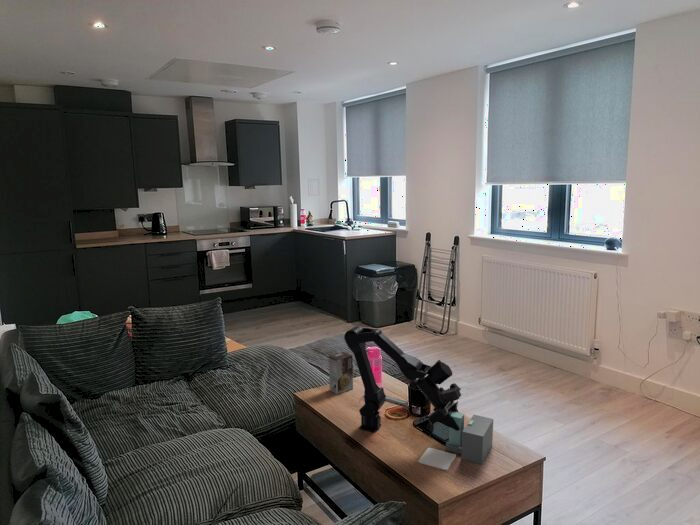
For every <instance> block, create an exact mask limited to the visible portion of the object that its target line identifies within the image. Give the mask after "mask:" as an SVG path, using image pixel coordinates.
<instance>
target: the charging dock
mask: <svg viewBox="0 0 700 525" xmlns="http://www.w3.org/2000/svg"><path fill="white" fill-rule="evenodd" d="M493 432H494V418H492V417H491V418H490V417H486V416H481V415H477V414H473V415H472V416H471V418H470V419H469V421H468V422H467V423H466V425H465V426H464V429H463V431H462V446H461V447H459V446H455V445H451V444H449V443H445V451H446V452H450V453H451V452H452V453H454V454H459V455H461V457H460V459H461V460H462V461H467V462H471V463H474V464H477V465H482V466H483V463H484V461H485V459H486V458H487V456H488V454H489V452H490V450H491V448H492V447H493V437H494V436H493V434H494V433H493Z"/></svg>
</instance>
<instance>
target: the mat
mask: <svg viewBox="0 0 700 525" xmlns="http://www.w3.org/2000/svg"><path fill="white" fill-rule="evenodd" d="M456 457H457V454H456V453H453V452H452V453H451V452H449V451H444V450H440V449H436V448H433V447H428V448H427V449H426V450H425V452H424V453H423V454H422V455H421V456H420V458H419V460H417V463H418V462H419V464H422V465H425V466H429V467H433V468H436V469H439V470H442V471H448V470H449V469H450V467H451V465H452V464H453V462H454V460H455V459H456Z"/></svg>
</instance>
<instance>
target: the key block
mask: <svg viewBox="0 0 700 525" xmlns="http://www.w3.org/2000/svg"><path fill="white" fill-rule="evenodd" d="M458 412H459V411H458ZM458 412H454V411H453V412H452V414H451V416H452V418H453V419H454V421H455V422H456V424H457V425H458V427H459V430H458V431H456V430H454V429H452V428H451V427H449V426H448V444H451V445H455V446H459V447H462V431H463V429H464V428H465V413H463V412H459V413H458Z"/></svg>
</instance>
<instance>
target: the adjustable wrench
mask: <svg viewBox="0 0 700 525" xmlns="http://www.w3.org/2000/svg"><path fill="white" fill-rule="evenodd" d="M385 402H390V403H393V402H394V403H393V404H396V403H398V404H397V405H400V404H403V405H407V406H408V402H409V400H405V399H399V398H397V397H393V396H389V395H386V398H385ZM403 405H402V406H403ZM407 406H406V407H407Z"/></svg>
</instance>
